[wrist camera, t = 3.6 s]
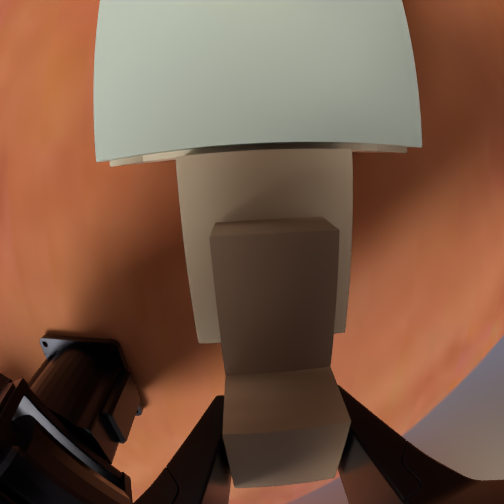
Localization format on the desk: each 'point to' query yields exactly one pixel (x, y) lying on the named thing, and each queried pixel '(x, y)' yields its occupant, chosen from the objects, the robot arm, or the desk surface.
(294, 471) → the brown l-shaped block
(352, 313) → the desk surface
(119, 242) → the desk surface
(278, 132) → the lid
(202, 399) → the desk surface
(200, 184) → the beige piece
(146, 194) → the desk surface
